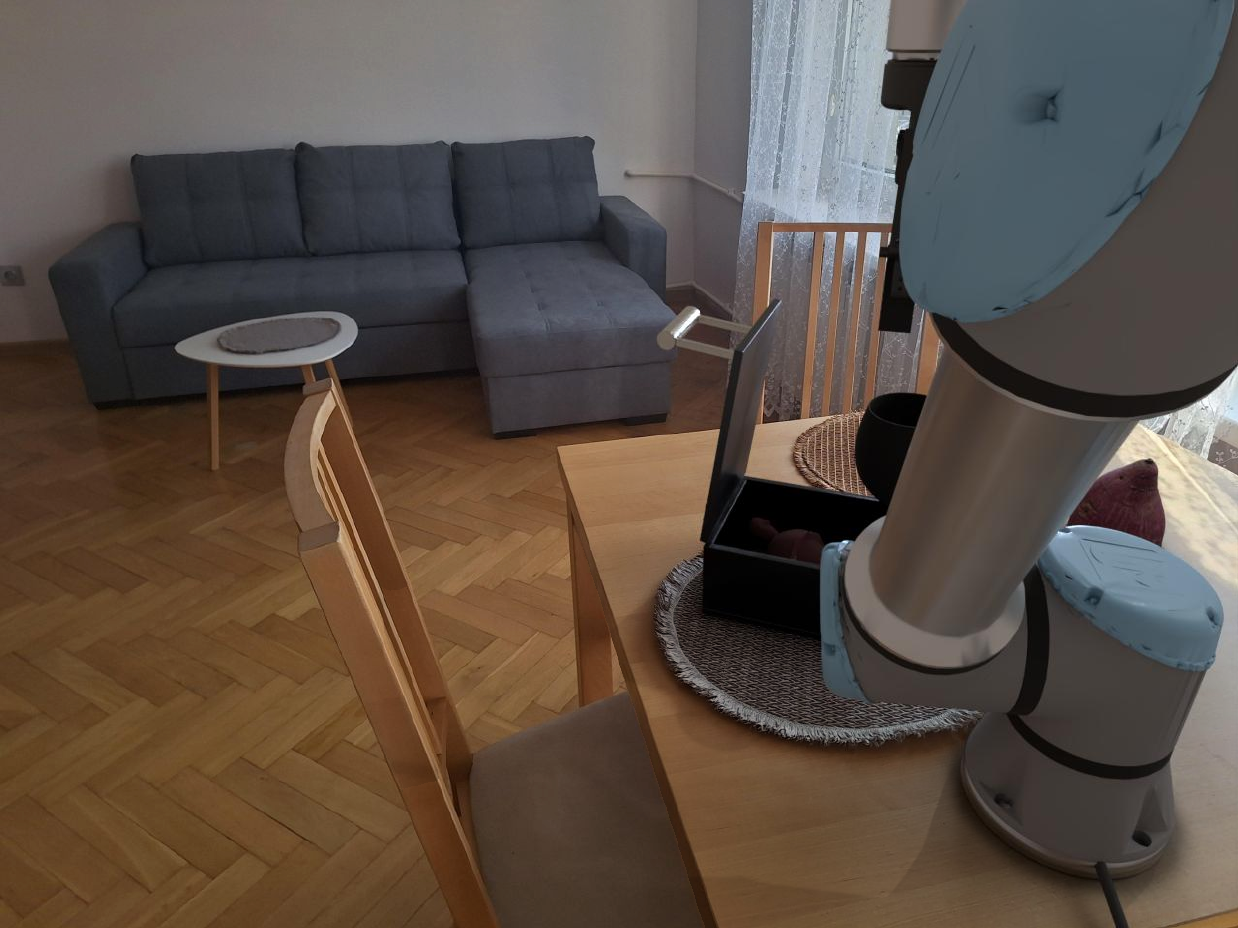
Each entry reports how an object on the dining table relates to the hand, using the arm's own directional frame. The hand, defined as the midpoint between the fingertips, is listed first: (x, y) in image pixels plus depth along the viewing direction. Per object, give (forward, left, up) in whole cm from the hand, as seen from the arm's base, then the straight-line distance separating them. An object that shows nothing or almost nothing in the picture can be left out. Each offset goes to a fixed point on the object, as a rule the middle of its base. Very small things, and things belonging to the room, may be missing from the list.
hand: (899, 307), depth 78 cm
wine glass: (+4, -2, -22) cm, 22 cm away
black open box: (-4, +5, -32) cm, 33 cm away
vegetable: (+16, -26, -32) cm, 45 cm away
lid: (-4, +13, -12) cm, 19 cm away
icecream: (-4, +6, -31) cm, 32 cm away
